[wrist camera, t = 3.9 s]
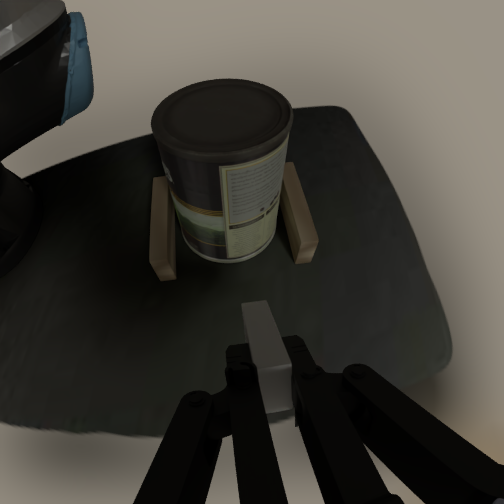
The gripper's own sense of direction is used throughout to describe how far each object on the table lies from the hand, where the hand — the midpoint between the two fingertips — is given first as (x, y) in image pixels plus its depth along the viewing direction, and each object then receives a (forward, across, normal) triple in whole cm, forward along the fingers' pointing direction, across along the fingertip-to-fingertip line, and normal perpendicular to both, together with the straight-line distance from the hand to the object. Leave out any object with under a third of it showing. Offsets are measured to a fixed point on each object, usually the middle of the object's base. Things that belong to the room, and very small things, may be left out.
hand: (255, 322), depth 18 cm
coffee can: (+16, 0, +4) cm, 16 cm away
